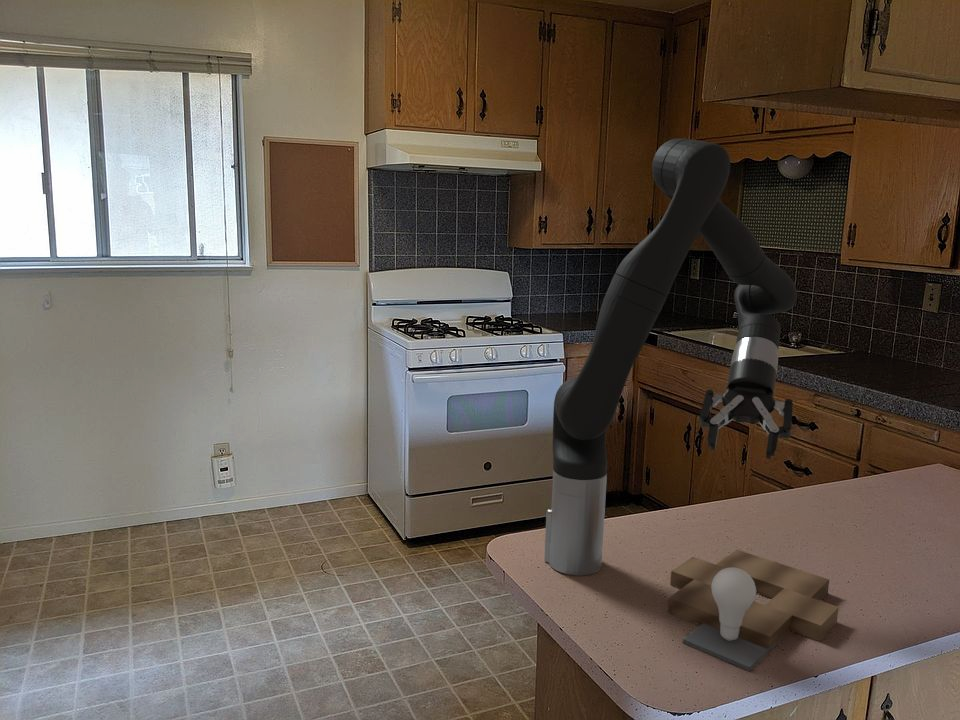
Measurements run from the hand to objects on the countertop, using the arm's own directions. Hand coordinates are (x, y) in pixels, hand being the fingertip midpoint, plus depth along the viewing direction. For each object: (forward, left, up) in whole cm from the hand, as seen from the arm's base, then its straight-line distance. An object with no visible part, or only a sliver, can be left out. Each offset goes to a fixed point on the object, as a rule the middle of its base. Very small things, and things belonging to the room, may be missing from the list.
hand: (740, 452), depth 125 cm
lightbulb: (+7, -16, -23) cm, 29 cm away
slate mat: (+8, -16, -24) cm, 30 cm away
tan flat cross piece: (+5, -2, -24) cm, 24 cm away
